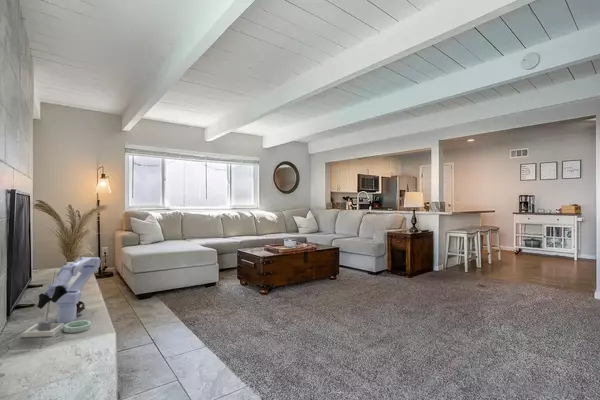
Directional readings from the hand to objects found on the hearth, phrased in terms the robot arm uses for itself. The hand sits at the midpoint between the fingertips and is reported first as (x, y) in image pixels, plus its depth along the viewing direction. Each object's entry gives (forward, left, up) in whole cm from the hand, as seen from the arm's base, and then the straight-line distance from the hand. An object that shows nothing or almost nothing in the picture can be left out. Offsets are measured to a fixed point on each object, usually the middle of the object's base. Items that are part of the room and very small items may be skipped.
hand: (46, 304), depth 150 cm
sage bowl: (-7, +11, -15) cm, 20 cm away
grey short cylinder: (-4, -2, -14) cm, 15 cm away
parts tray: (-4, -2, -15) cm, 16 cm away
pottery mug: (-36, 0, -15) cm, 39 cm away
